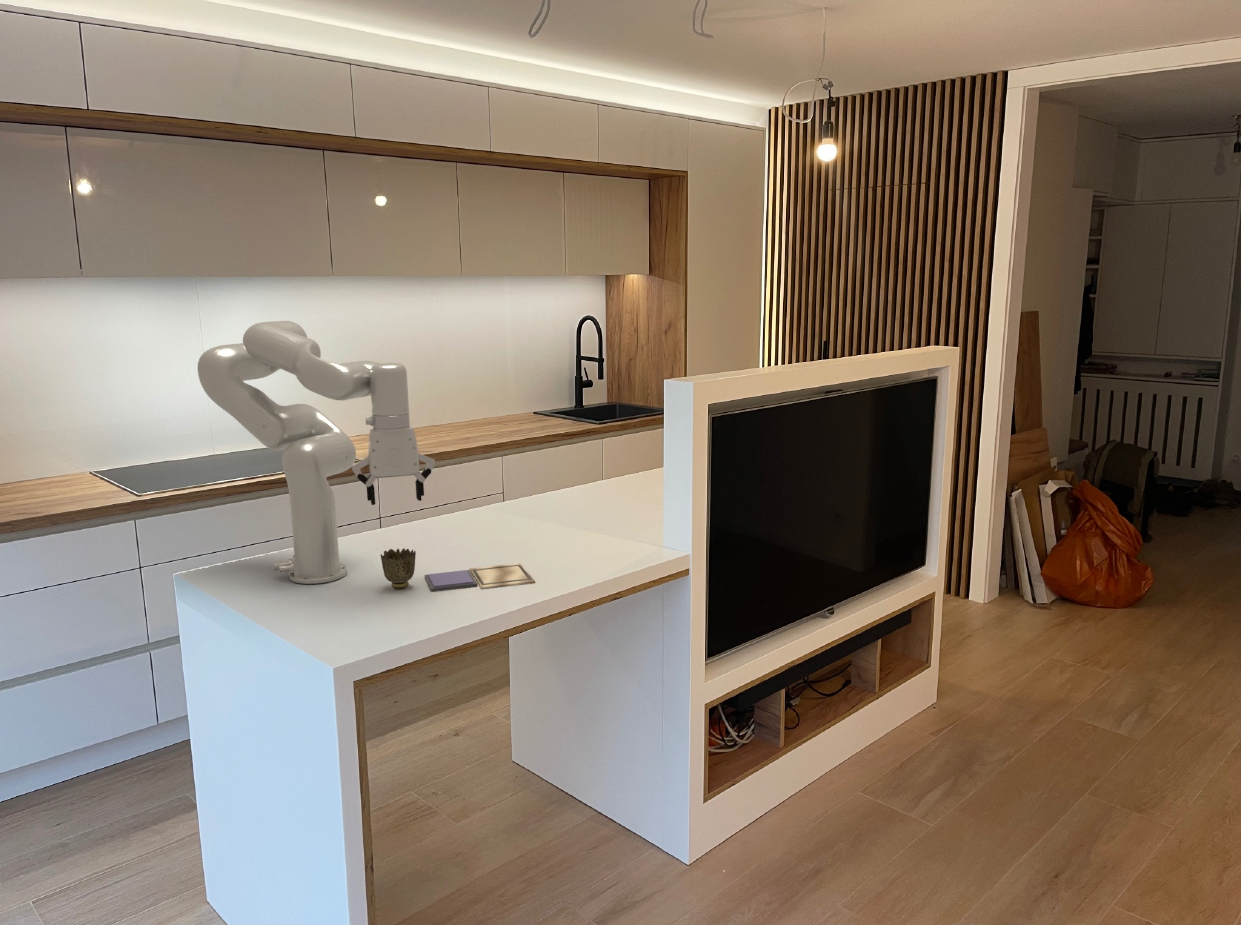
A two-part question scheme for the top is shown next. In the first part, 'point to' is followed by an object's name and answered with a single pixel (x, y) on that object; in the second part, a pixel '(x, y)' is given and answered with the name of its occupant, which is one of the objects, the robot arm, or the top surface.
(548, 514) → the top surface
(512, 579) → the board
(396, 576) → the cup
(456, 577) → the ink pad
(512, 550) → the top surface
